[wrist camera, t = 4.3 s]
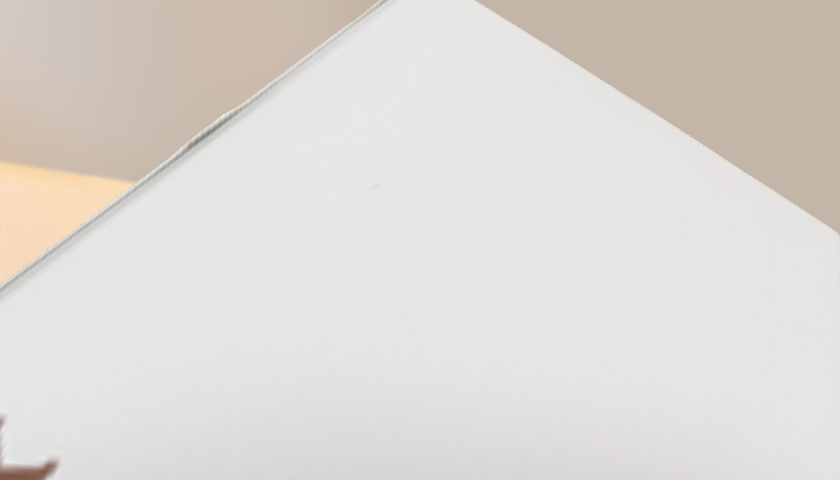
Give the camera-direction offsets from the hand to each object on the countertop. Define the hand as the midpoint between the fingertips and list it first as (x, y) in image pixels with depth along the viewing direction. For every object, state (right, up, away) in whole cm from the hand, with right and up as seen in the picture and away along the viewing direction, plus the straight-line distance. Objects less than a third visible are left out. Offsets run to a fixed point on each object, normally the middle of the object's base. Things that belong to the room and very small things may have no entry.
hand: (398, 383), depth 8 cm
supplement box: (-2, -3, +6) cm, 7 cm away
